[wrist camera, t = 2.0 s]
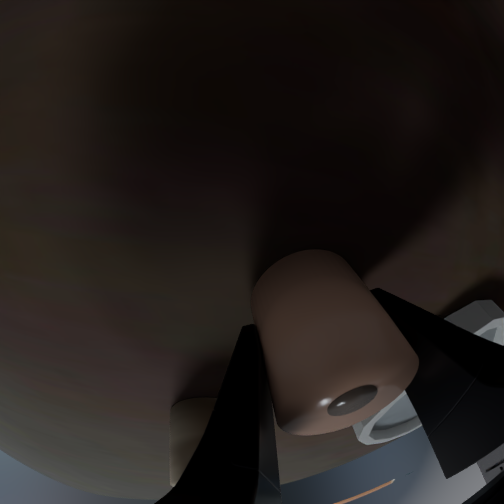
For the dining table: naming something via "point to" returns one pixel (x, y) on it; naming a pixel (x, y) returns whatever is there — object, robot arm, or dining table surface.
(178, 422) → the maple bead
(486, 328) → the ring tray
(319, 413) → the terracotta bead
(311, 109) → the dining table surface
